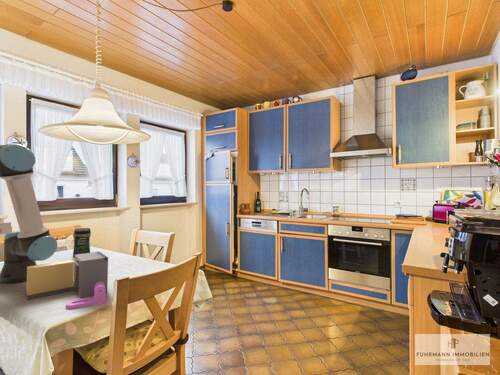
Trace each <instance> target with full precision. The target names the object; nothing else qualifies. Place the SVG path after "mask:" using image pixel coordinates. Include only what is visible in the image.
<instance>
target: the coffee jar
mask: <svg viewBox="0 0 500 375" xmlns="http://www.w3.org/2000/svg"><path fill="white" fill-rule="evenodd" d="M91 235H92V231H91V228H90V227H79V228H75V229H74V231H73V237H74V244H73V250H72V251H73V252H72V257H73V258H74V255H77V254H84V253H91V246H90V244H91V243H90V238H91Z"/></svg>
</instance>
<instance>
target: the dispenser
mask: <svg viewBox="0 0 500 375" xmlns="http://www.w3.org/2000/svg"><path fill="white" fill-rule="evenodd" d="M73 259H74V260H73V261H74V288H75V292H77V293H78V297H79V299H82V298H88V297H93V296H94V287H95V284H96V283H98V282H103V283H104V284H105V290H106V292H105V293H108V282H109V281H108V280H109V279H108V278H109V276H108V275H109V257H108V256H107V255H106V254H104V253H102V252H101V251H93V252H90V253H84V254H77V255H74V257H73Z"/></svg>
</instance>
